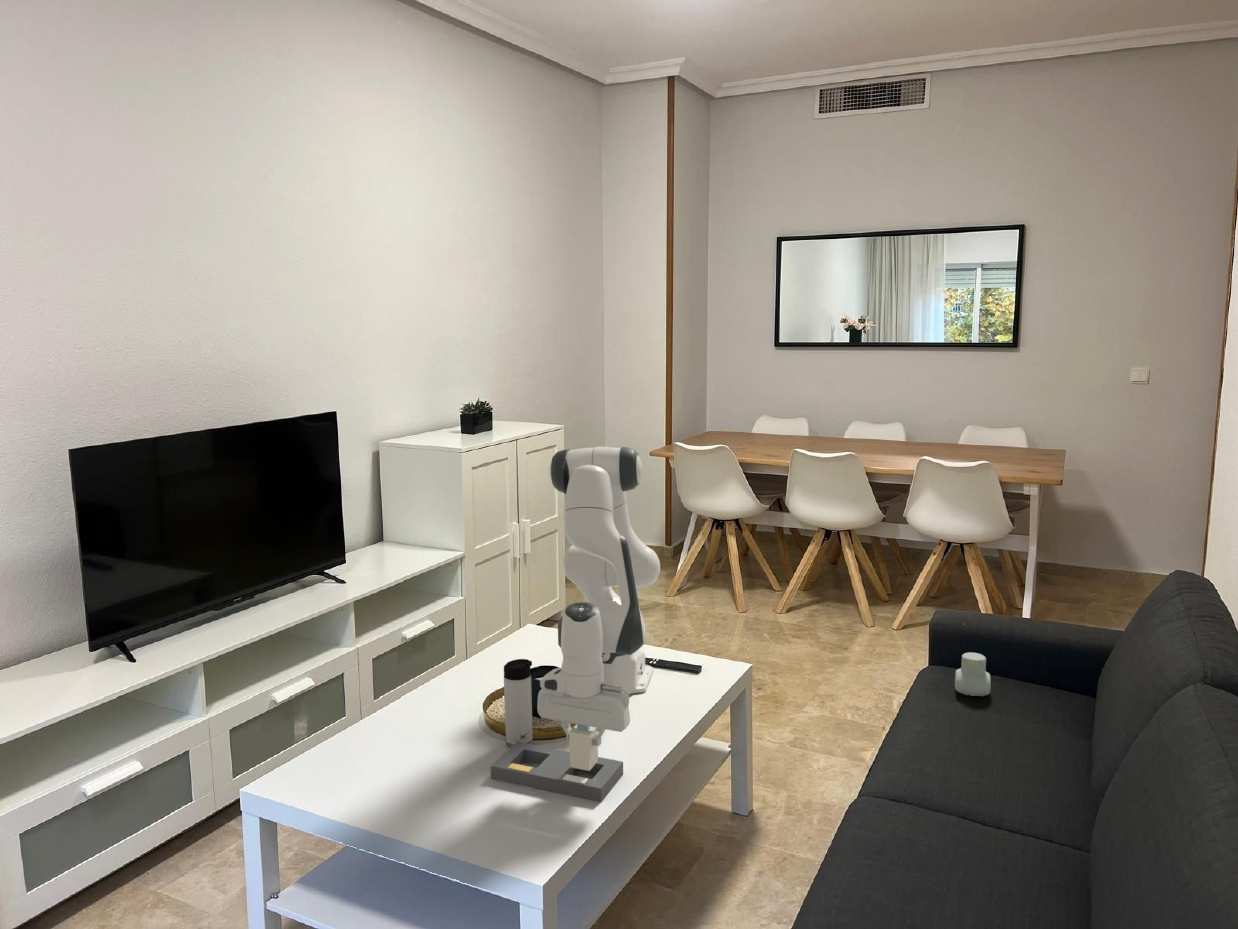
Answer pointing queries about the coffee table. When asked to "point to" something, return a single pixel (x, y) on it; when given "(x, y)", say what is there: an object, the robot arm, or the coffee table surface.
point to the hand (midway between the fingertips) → (583, 742)
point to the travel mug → (518, 702)
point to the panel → (555, 771)
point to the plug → (583, 747)
